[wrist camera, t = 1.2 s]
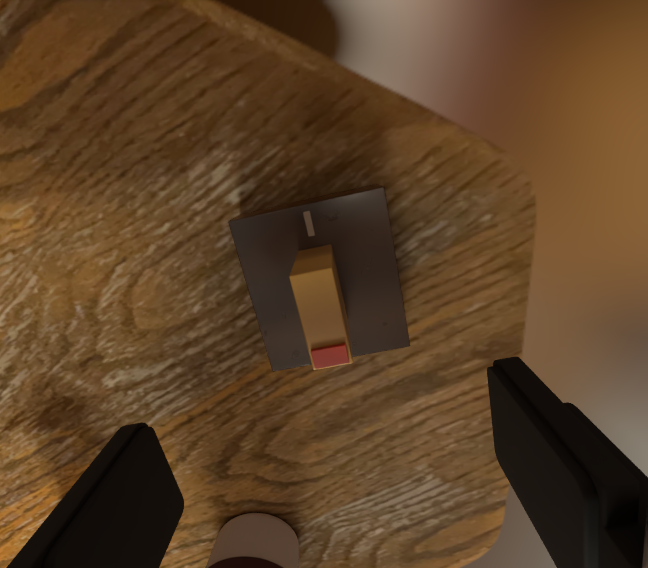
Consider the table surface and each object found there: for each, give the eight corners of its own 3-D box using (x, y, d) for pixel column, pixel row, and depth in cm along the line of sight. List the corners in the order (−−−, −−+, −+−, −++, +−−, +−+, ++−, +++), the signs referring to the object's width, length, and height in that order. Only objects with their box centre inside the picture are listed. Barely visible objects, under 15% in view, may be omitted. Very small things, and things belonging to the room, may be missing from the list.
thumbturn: (297, 251, 21) (288, 277, 16) (331, 243, 21) (331, 268, 16) (316, 327, 23) (313, 373, 18) (348, 321, 23) (353, 366, 18)
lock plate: (239, 214, 24) (227, 221, 21) (377, 183, 23) (384, 186, 20) (278, 349, 27) (272, 373, 24) (401, 326, 26) (410, 347, 23)
